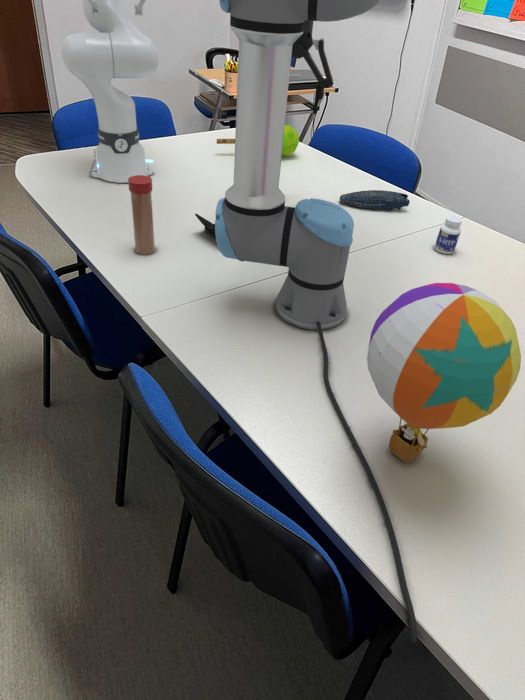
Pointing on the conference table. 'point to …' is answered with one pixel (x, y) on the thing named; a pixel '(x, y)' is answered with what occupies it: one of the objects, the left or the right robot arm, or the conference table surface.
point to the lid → (140, 184)
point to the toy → (441, 360)
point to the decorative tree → (288, 141)
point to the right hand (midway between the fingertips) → (288, 109)
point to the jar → (143, 223)
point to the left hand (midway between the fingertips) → (117, 14)
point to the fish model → (376, 199)
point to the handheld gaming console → (207, 225)
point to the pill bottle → (448, 235)
